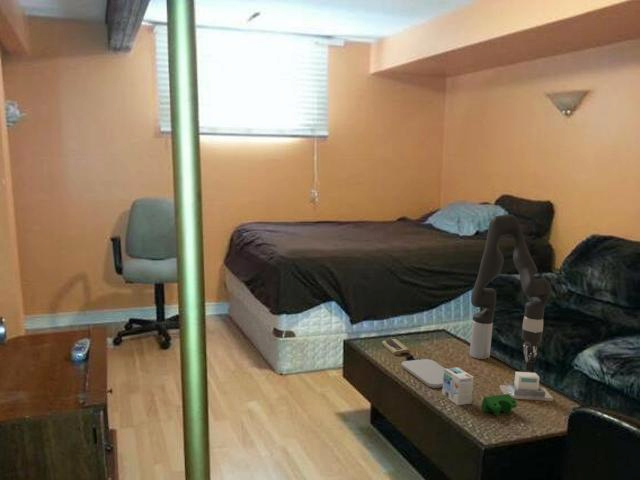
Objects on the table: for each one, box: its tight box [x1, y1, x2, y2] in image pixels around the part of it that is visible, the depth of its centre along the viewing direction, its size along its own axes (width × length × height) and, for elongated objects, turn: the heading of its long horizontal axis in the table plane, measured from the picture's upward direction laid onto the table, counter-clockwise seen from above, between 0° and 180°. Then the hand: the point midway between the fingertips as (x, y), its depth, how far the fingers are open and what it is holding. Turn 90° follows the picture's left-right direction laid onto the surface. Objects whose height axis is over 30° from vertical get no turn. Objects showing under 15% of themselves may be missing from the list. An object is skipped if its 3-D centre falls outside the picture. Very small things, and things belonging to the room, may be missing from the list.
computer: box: [381, 338, 411, 356], centre depth 268 cm, size 16×8×3 cm, turn 15°
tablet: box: [401, 358, 446, 389], centre depth 237 cm, size 16×26×2 cm, turn 21°
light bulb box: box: [441, 366, 475, 406], centre depth 214 cm, size 11×7×11 cm, turn 22°
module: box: [513, 371, 540, 391], centre depth 221 cm, size 5×8×7 cm, turn 87°
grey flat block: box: [499, 380, 554, 402], centre depth 222 cm, size 10×18×3 cm, turn 87°
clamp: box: [480, 393, 518, 418], centre depth 204 cm, size 12×6×9 cm, turn 105°
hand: (528, 370), depth 220 cm, fingers closed
